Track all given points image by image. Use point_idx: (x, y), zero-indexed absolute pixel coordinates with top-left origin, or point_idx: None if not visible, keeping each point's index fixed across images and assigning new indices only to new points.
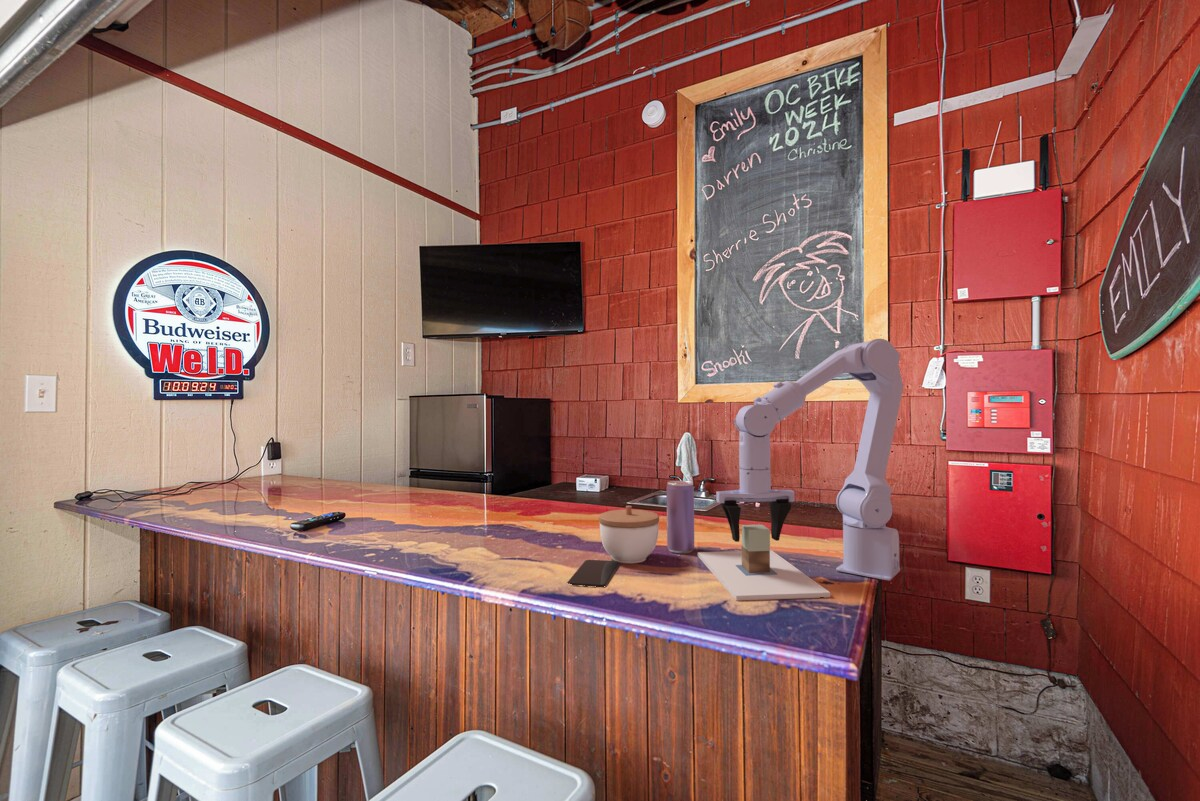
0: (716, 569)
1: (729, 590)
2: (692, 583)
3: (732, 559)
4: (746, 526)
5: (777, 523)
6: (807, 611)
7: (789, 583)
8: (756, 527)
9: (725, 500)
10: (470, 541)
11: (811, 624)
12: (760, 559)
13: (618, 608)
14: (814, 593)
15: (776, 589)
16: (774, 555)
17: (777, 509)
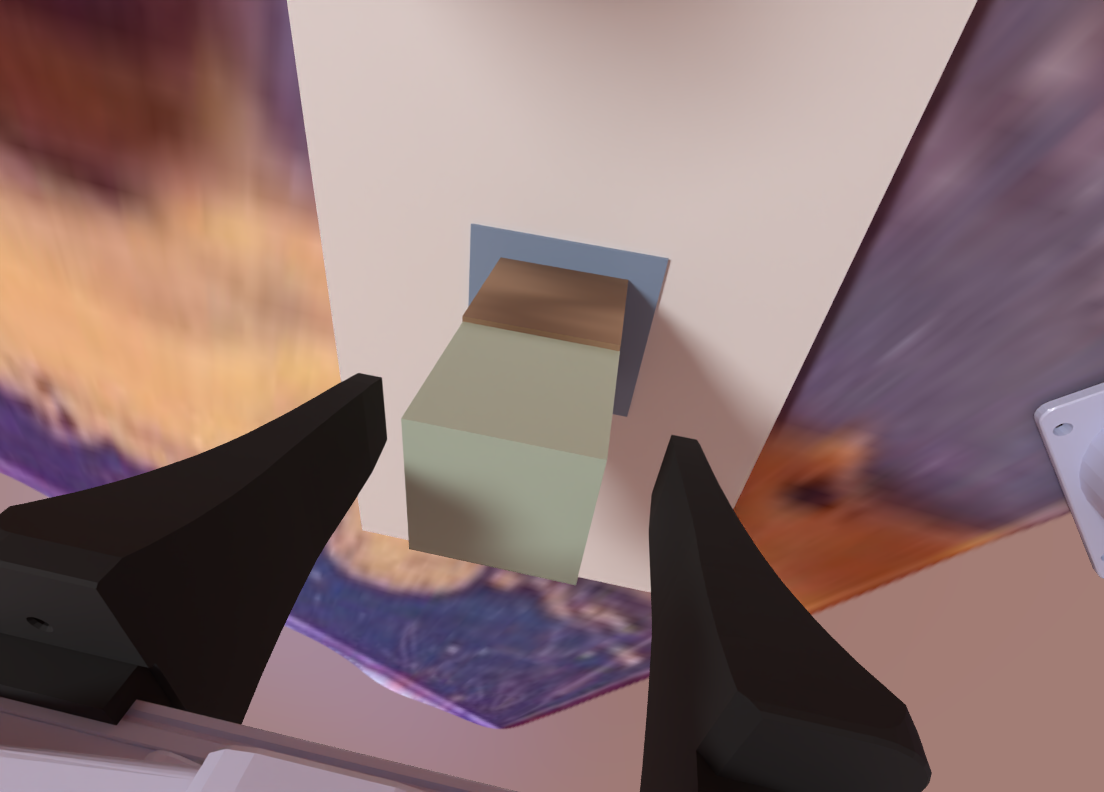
0: (342, 260)
1: None
2: (228, 341)
3: (502, 71)
4: (427, 471)
5: (654, 624)
6: (545, 618)
7: (605, 508)
8: (499, 519)
9: (7, 714)
10: None
11: (510, 656)
12: None
13: (21, 459)
14: (632, 586)
15: None
16: (915, 40)
17: (650, 770)
